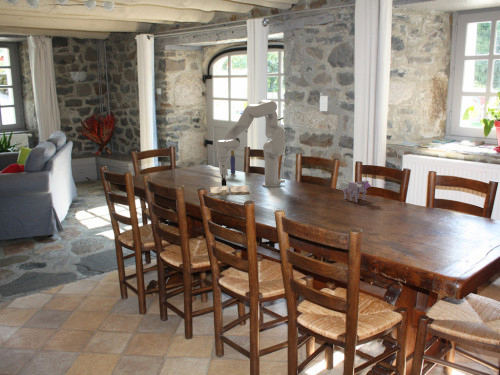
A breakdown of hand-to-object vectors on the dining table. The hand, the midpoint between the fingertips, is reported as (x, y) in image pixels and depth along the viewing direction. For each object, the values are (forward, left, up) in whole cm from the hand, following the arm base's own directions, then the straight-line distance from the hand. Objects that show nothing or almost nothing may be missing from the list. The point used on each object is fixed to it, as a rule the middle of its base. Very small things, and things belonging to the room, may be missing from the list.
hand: (224, 185), depth 333 cm
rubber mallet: (-10, -62, -4) cm, 63 cm away
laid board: (-10, 0, -4) cm, 11 cm away
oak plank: (+3, 0, -4) cm, 5 cm away
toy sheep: (-81, +39, -4) cm, 90 cm away
